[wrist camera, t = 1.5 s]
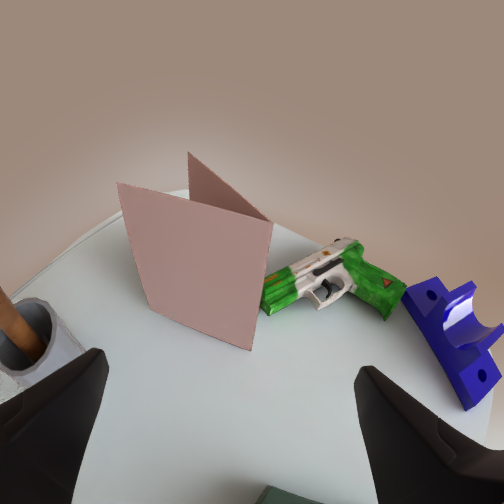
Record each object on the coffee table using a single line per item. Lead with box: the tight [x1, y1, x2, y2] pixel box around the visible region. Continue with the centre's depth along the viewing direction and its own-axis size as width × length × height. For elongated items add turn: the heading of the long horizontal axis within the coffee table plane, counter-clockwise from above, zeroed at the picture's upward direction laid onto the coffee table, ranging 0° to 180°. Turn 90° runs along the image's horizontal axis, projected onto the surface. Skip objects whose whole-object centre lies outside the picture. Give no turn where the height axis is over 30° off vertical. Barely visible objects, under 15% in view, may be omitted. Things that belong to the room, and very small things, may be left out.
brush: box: [0, 287, 50, 366], centre depth 14 cm, size 3×3×15 cm
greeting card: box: [116, 152, 274, 351], centre depth 22 cm, size 11×7×15 cm, turn 35°
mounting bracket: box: [400, 276, 504, 411], centre depth 24 cm, size 18×7×6 cm, turn 16°
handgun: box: [260, 237, 407, 321], centre depth 29 cm, size 3×16×12 cm
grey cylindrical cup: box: [0, 298, 86, 389], centre depth 17 cm, size 7×7×8 cm
